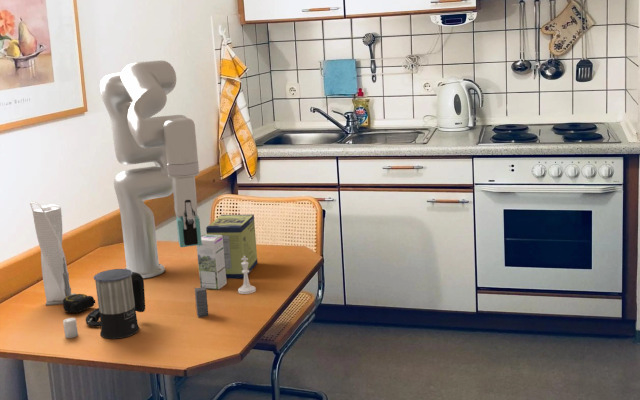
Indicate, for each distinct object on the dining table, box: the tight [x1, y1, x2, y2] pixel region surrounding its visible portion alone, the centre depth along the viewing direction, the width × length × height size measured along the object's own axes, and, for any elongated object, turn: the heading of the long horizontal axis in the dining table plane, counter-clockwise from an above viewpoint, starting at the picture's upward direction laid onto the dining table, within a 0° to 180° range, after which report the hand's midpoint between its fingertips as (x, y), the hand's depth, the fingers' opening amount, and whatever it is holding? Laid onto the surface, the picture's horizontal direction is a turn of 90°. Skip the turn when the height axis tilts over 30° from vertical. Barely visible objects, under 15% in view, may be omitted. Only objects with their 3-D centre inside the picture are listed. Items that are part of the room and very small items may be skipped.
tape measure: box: [62, 293, 96, 314], centre depth 215 cm, size 7×7×4 cm
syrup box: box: [196, 234, 228, 290], centre depth 227 cm, size 6×6×14 cm
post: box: [194, 287, 210, 318], centre depth 206 cm, size 3×3×7 cm
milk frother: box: [85, 268, 146, 340], centre depth 200 cm, size 14×16×15 cm
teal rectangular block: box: [175, 214, 202, 248], centre depth 202 cm, size 5×5×7 cm
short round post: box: [62, 317, 79, 339], centre depth 197 cm, size 3×3×4 cm
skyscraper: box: [29, 201, 77, 306], centre depth 222 cm, size 8×8×28 cm
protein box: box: [205, 214, 258, 280], centre depth 241 cm, size 10×16×16 cm
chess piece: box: [237, 256, 257, 295], centre depth 222 cm, size 5×5×10 cm
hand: (189, 240), depth 202 cm, fingers closed on teal rectangular block, 5 cm apart
